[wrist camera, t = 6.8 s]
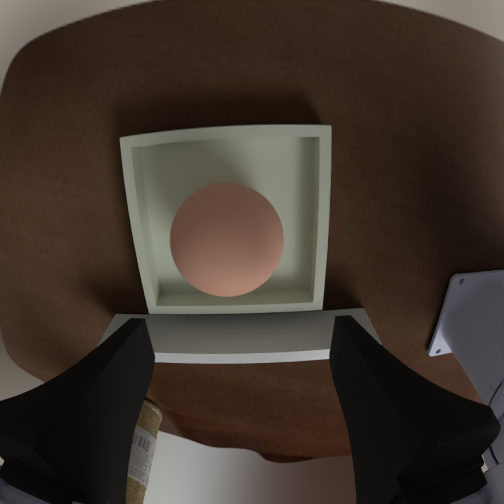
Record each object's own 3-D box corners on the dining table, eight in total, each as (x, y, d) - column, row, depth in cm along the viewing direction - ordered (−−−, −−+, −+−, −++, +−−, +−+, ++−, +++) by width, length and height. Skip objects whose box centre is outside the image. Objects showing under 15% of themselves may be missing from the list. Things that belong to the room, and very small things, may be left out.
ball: (278, 171, 17) (291, 196, 12) (278, 263, 19) (288, 317, 14) (177, 176, 17) (147, 203, 12) (187, 266, 19) (168, 320, 14)
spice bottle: (110, 401, 26) (70, 517, 14) (139, 389, 25) (101, 521, 13) (142, 426, 28) (116, 537, 16) (173, 416, 27) (150, 541, 15)
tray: (322, 124, 16) (331, 125, 15) (316, 292, 21) (322, 310, 19) (132, 134, 16) (119, 137, 15) (156, 297, 21) (149, 313, 19)
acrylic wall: (363, 307, 21) (381, 343, 18) (361, 316, 22) (379, 353, 18) (115, 313, 22) (96, 348, 18) (118, 322, 22) (99, 357, 18)
